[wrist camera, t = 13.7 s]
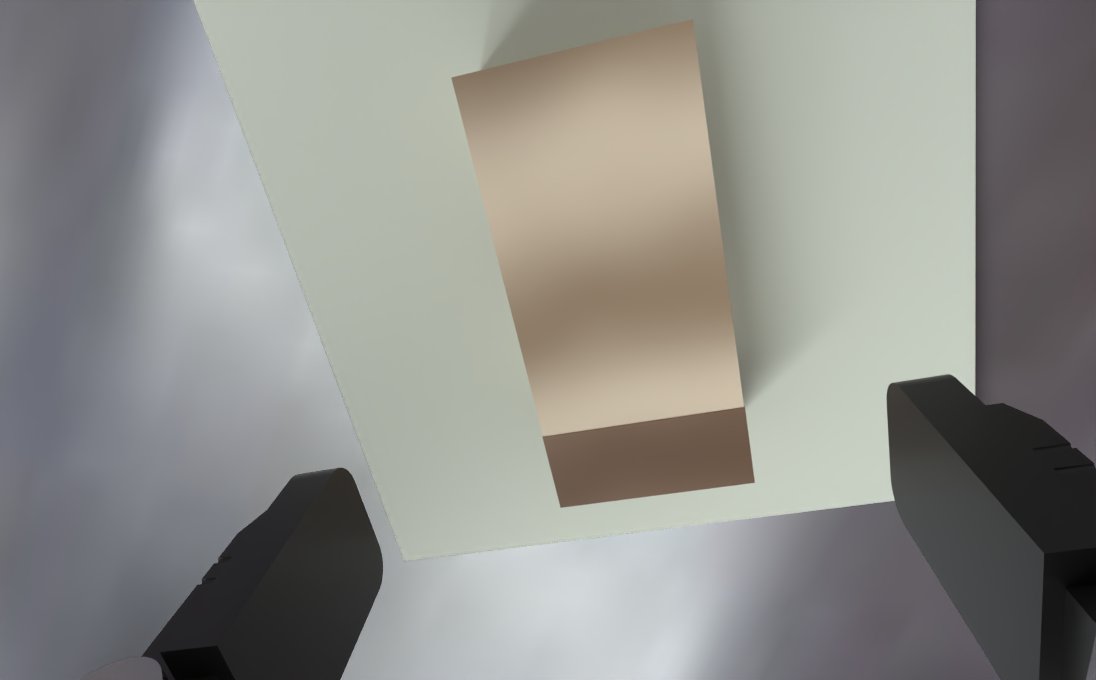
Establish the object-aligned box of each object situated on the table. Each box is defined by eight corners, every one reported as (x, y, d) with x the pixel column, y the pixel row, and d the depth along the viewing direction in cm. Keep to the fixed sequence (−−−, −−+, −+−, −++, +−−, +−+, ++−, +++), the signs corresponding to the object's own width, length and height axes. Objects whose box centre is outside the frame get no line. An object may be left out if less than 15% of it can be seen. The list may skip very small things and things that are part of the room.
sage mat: (408, 550, 27) (404, 561, 26) (198, -18, 19) (186, -20, 19) (966, 480, 23) (975, 490, 23) (963, -241, 16) (976, -251, 15)
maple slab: (478, 72, 19) (450, 77, 16) (680, 24, 18) (694, 18, 15) (568, 444, 23) (560, 507, 20) (735, 420, 22) (755, 482, 19)
